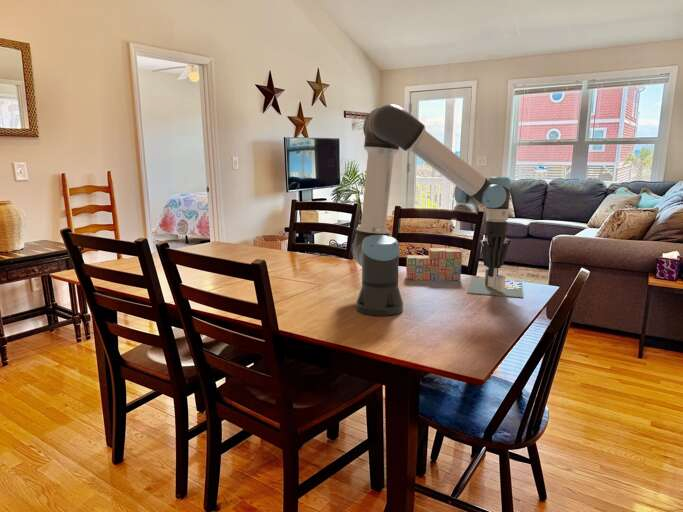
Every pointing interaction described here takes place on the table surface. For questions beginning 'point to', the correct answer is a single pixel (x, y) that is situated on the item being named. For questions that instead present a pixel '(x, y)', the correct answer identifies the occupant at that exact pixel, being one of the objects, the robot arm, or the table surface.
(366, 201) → the robot arm
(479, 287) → the card
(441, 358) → the table surface
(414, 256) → the stack of blocks
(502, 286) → the folding fence panel
